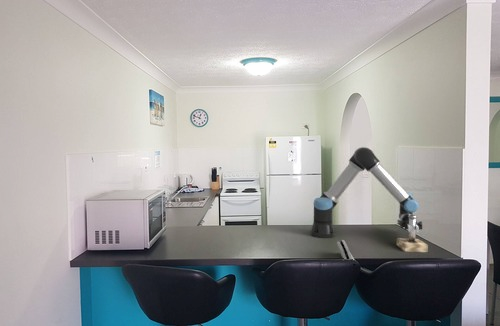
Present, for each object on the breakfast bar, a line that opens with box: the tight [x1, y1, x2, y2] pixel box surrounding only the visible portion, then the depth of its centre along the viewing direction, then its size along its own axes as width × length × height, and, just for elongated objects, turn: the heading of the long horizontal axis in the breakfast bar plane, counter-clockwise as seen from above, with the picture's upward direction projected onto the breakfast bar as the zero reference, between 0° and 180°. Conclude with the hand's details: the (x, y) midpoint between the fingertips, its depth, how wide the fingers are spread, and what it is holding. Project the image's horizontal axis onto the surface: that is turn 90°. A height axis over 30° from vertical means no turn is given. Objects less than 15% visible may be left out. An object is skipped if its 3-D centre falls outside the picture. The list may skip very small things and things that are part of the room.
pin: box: [408, 214, 418, 243], centre depth 181 cm, size 5×5×15 cm
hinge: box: [336, 239, 355, 260], centre depth 164 cm, size 17×5×10 cm, turn 173°
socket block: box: [396, 237, 429, 253], centre depth 182 cm, size 12×12×4 cm
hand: (413, 229), depth 176 cm, fingers closed on pin, 3 cm apart
